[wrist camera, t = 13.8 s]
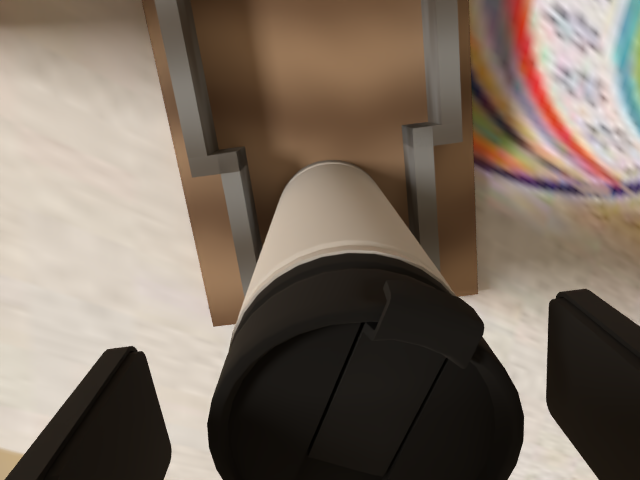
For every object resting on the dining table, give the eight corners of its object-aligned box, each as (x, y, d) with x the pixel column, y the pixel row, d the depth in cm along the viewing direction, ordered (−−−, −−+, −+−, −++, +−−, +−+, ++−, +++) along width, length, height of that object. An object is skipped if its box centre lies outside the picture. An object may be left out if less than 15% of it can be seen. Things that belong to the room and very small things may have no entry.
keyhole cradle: (120, -124, 23) (82, -168, 20) (456, -175, 23) (485, -230, 19) (216, 319, 31) (202, 350, 27) (472, 287, 30) (495, 315, 26)
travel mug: (401, 174, 27) (612, 359, 8) (361, 274, 29) (454, 623, 10) (299, 138, 26) (257, 244, 7) (265, 242, 28) (158, 551, 9)
